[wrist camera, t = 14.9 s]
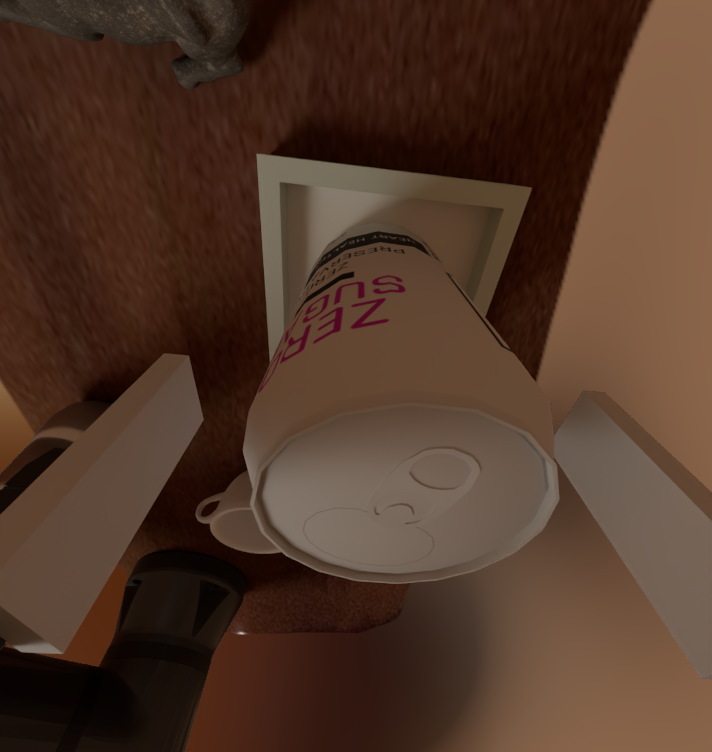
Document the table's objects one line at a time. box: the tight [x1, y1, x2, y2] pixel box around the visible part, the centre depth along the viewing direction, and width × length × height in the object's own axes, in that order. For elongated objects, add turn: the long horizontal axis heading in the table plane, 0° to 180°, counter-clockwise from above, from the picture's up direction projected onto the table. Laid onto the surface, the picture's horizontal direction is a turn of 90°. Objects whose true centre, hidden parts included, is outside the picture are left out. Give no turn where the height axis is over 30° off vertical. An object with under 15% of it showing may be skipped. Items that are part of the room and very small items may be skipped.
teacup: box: [196, 470, 281, 554], centre depth 30 cm, size 10×8×5 cm
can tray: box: [257, 154, 532, 363], centre depth 19 cm, size 13×13×2 cm
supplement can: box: [243, 223, 560, 584], centre depth 14 cm, size 8×8×15 cm
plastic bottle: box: [0, 401, 112, 489], centre depth 19 cm, size 6×7×20 cm
